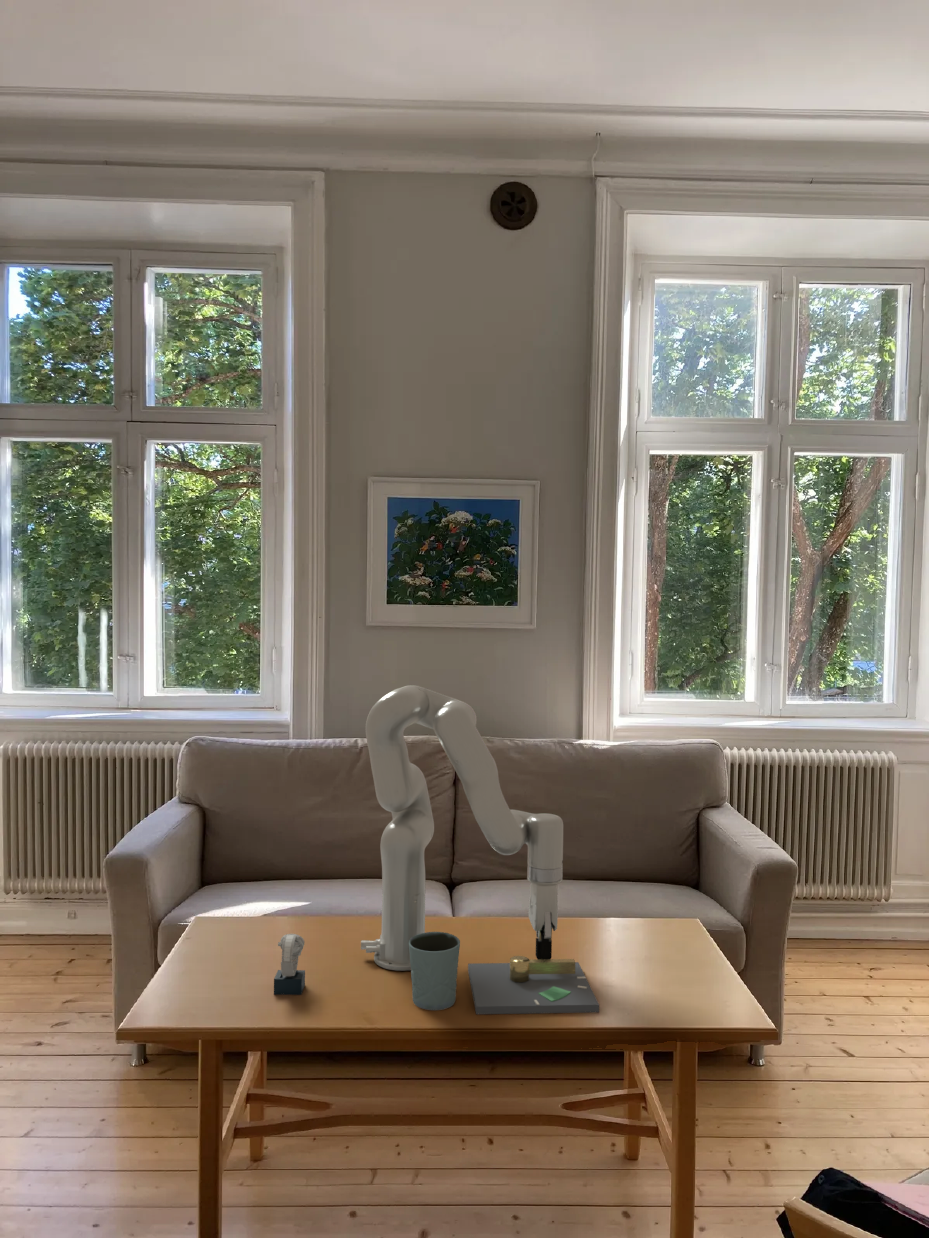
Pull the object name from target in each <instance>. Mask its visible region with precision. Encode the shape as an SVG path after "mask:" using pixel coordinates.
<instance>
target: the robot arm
mask: <svg viewBox="0 0 929 1238" xmlns="http://www.w3.org/2000/svg"><path fill="white" fill-rule="evenodd" d="M477 718H478V717H477V714H476V712H475V710H474V709H473V707H472V706H471V705H470V704H468V703H467V702H465V701H463V700H459V699H458V698H454V697H451V696H449V695H445V694H443V693H440V692H437V691H434V690H432V689H428V688H426V687H423V686H420V685H415V684H414V685H413V684H410V685H405V686H402V687H398V688H395V689H393V690H392V691H390V692H388V693H386V694H385V695H383V696H382V697H381V698H380V699H379V700H377V701H376V702H375V704H373V705H372V707H371V709H370V710H369V713H368V715H367V718H366V721H365V738H366V745H367V749H368V754H369V760H370V766H371V767H370V768H371V774H372V778H373V785H374V789H375V791H374V792H375V796H376V799H377V802H378V804H379V805H380V807H381V808H382V809H384V810H385V811H387V812H389V813H391V818H392V820H391V821H390V822H389V823H388V824H387V825H386V826H385V828H384V829H383V832H382V835H381V838H380V845H379V846H380V847H379V848H380V859H381V878H382V880H381V882H382V883H381V934H380V935H379V938H375V940H369V939H366V940H365V939H363V940H362V939H361V940H360V950H361V951H362V950H365V953H367V954H368V953H369V954H371V953H372V954H373V953H374V954H373V961H374V963H375V964H376V965H378V966H379V967H380V968H383V969H385V970H390V971H398V972H400V971H401V972H402V971H403V972H407V971H412V969H411V964H410V953H409V940H410V939H411V938H412V937H413V936H415V935H417V934H421V933H426V926H425V925H426V865H425V864H426V863H425V862H426V861H425V850H426V847H427V846H428V845H429V843H430V842H431V840H432V839H433V836H434V833H435V822H434V816H433V811H432V805H431V800H430V793H429V790H428V785H427V780H426V778H425V777H426V776H425V775H424V772H423V771H422V770H421V769H420V767H419V766H417V765H416V764H414V763H412V762H411V761H410V756H409V750H408V745H407V742H406V740H405V736H404V734H405V733H404V731H405V729H406V728H408V727H410V726H411V725H413V724H416V725H417V724H418V725H420V726H423V727H426V728H428V729H430V730H433V732H434V734H435V736H436V738H437V739H438V742H439V743H440V745H441V747H442V749H443V750H444V752H445V754H446V756H447V758H448V759H449V762H450V763H451V765H452V767H453V769H454V771H455V772H456V775H457V777H458V778H459V780H460V782H461V784H462V787H463V791H464V794H465V796H466V799H467V802H468V804H469V806H470V809H471V811H472V814H473V816H474V818H475V822H477V824H478V826H479V828H480V830H481V832H482V833H483V836H484V837H485V839H486V840H487V842H488V844H489V845H490V847H491V848H492V849H493V850H494V851H495V852H497V853H498V854H499V855H502V856H511V855H514V854H516V853H518V852H519V851H520V850H521V849H522V848H523V846H524V844H526V846H527V870H526V871H527V876H526V880H527V881H528V882H529V898H528V899H529V900H528V901H529V902H528V919H529V922H530V925H531V927H532V929H533V930H534V931H535V934H536V938H535V958H536V959H552V957H553V956H552V953H553V952H552V945H553V940H552V939H553V932H556V930H557V929H558V919H559V917H558V916H559V915H558V913H559V911H558V910H559V905H558V904H559V903H558V902H559V900H558V899H559V898H558V897H559V896H558V895H559V890H558V884H561V883H562V882H563V872H564V871H563V863H564V821H563V819H562V818H561V816H559V815H556V814H554V813H553V814H552V813H545V812H544V813H533V812H532V813H531V812H527V811H524V810H518V809H510V807H509V805H508V803H507V801H506V799H505V796H504V794H503V791H502V788H501V784H500V777H499V771H498V770H499V769H498V767H497V766H498V765H497V762H496V761H495V758H494V757H493V755H492V754H491V751H490V749H489V748H488V745H487V744H486V743H485V741H484V739H483V737H482V736H481V733H480V732H479V730H478V727H477V721H478V720H477Z"/></svg>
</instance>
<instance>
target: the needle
mask: <svg viewBox="0 0 929 1238" xmlns="http://www.w3.org/2000/svg"><path fill="white" fill-rule="evenodd" d="M575 962H576V960H575V958H555V959H554V958H553V959H552V958H551V959H537V958H536V959H530V958H528V957H526V956H523V955H513V956H512V957H510V958H509V963H510V979H511V980H512V981H515V982H526V981H528V980H529V974H575Z"/></svg>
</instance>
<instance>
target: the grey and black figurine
mask: <svg viewBox="0 0 929 1238" xmlns="http://www.w3.org/2000/svg"><path fill="white" fill-rule="evenodd" d="M304 946H305V939H304V938H303V937H302V936H300V935H299V934H296V933H288V934H287V933H286V934H284V935H282V937H281V938H280V942H279V941H278V943H277V947H280V949H281V962H280V969H278V970H277V972H276V974H275V976H274V978H273V995H274V996H275V995H276V996H277V995H278V996H279V995H281V996H282V995H283V996H285V995H288V996H289V995H290V996H292V995H294V996H300V995H301V996H302V995H303V991H304V989H305V986H306V970H305V969H298V963H299V957H300V956H301V954H302V951H303V949H304Z"/></svg>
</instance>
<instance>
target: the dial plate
mask: <svg viewBox="0 0 929 1238" xmlns="http://www.w3.org/2000/svg"><path fill="white" fill-rule="evenodd" d="M467 972H468V977H469V982H470V989H471V994H472V1000H473V1005H474V1011H475V1015H510V1014H511V1015H512V1014H513V1015H515V1014H516V1015H517V1014H519V1015H521V1014H525V1015H526V1014H569V1013H570V1014H574V1013H575V1014H577V1013H578V1014H579V1013H581V1014H582V1013H600V1003H599V1002H598V1000H597V998H596V996H595V993H594V991H593V989H592V987H591V985H590V983H589V982H588V981H589V980H588V979H587V976H586V975H585V972H584V971H583V969H582V967H581V965H580V963H579V962H578V961H577V962H576V961H575V974H529V980H528V981H526V982H515V981H512V980H511V979H510V962H497V963H496V962H495V963H493V962H492V963H491V962H490V963H489V962H488V963H487V962H486V963H485V962H484V963H479V962H478V963H468V964H467Z"/></svg>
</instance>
